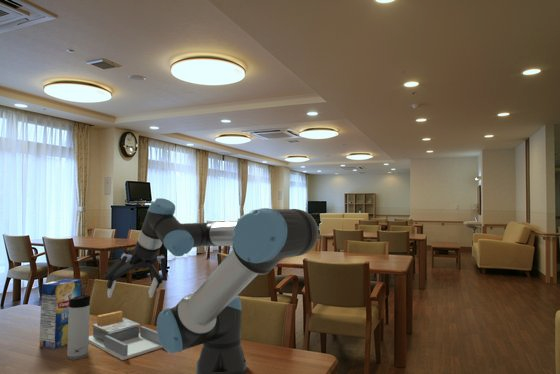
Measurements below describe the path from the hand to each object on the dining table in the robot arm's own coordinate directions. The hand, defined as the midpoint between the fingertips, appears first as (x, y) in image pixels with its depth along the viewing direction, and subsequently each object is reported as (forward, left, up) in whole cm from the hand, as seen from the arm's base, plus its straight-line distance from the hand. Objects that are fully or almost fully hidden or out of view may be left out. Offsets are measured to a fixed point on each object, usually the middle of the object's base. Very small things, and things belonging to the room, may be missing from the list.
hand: (130, 295), depth 129 cm
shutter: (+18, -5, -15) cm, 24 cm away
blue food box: (+30, +10, -20) cm, 38 cm away
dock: (+12, -5, -20) cm, 24 cm away
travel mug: (+12, +11, -20) cm, 26 cm away
